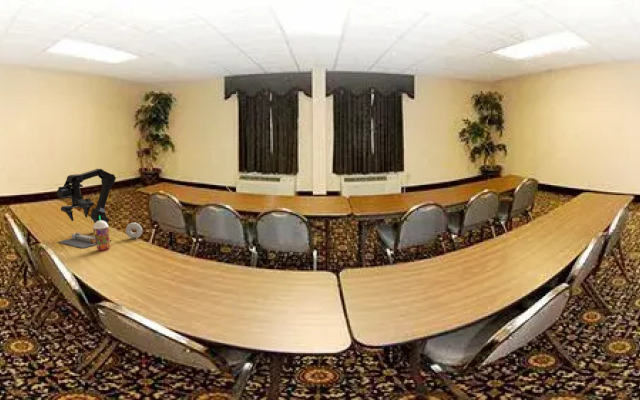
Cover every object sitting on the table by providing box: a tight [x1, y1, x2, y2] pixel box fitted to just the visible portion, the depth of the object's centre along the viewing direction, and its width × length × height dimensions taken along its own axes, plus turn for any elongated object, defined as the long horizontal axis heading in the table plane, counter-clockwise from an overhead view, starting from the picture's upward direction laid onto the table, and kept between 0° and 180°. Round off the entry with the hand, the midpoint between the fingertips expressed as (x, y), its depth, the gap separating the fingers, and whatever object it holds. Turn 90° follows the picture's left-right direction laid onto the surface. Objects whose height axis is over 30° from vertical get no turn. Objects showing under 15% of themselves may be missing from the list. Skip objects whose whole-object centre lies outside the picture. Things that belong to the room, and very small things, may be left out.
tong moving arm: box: [76, 235, 96, 243], centre depth 294 cm, size 18×2×2 cm, turn 56°
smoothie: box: [92, 216, 111, 252], centre depth 275 cm, size 8×8×20 cm
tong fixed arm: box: [71, 232, 96, 242], centre depth 296 cm, size 23×4×4 cm, turn 56°
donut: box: [125, 222, 143, 239], centre depth 298 cm, size 10×4×10 cm, turn 94°
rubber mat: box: [58, 234, 112, 250], centre depth 295 cm, size 18×27×1 cm, turn 55°
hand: (79, 219), depth 304 cm, fingers open, 9 cm apart
